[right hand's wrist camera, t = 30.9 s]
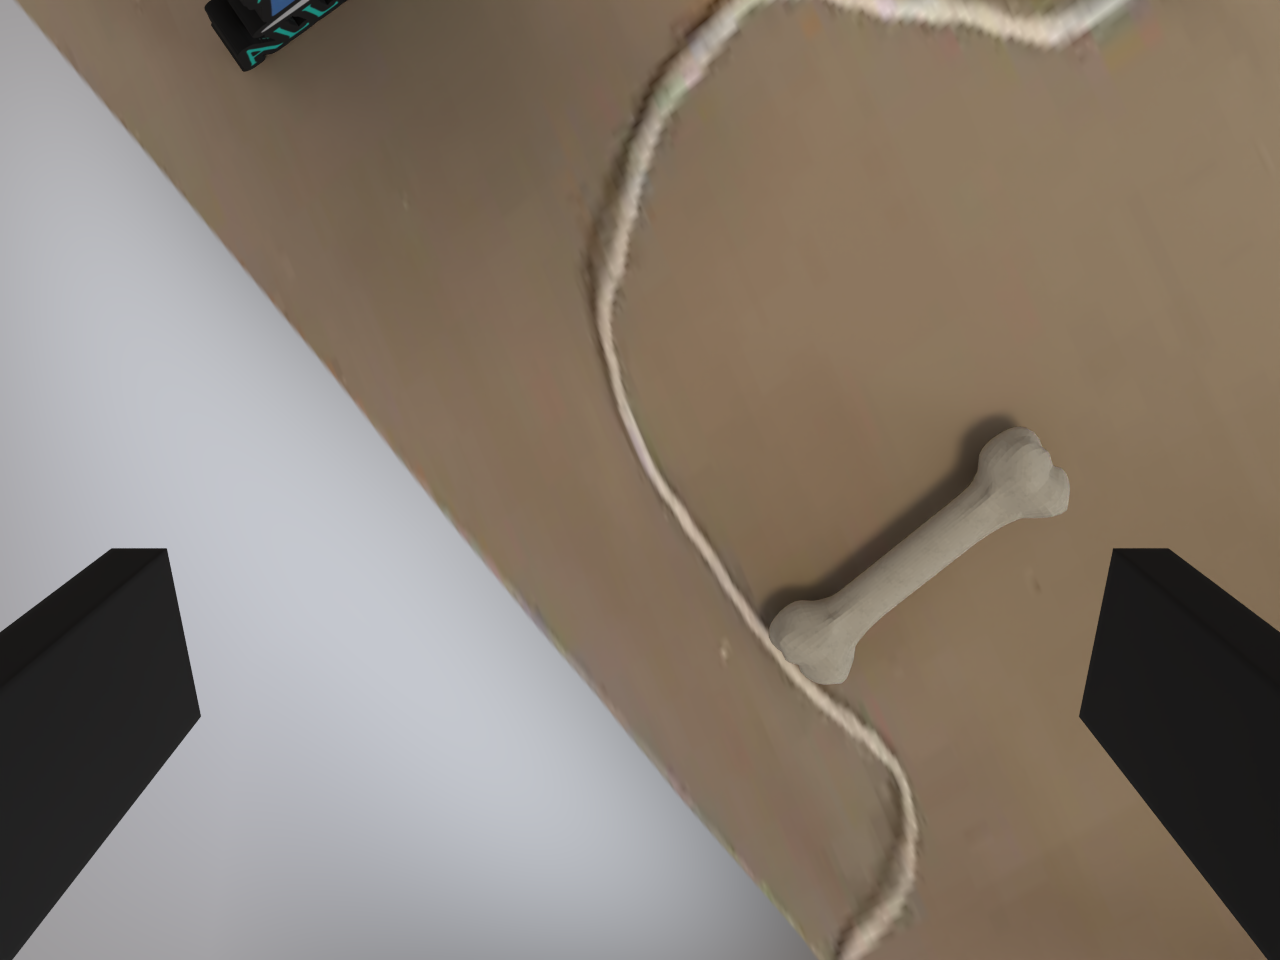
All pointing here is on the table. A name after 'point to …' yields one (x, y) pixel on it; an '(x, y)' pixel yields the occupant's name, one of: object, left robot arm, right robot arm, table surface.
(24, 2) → the table surface
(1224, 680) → the right robot arm
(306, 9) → the decorative sign
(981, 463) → the dog toy
